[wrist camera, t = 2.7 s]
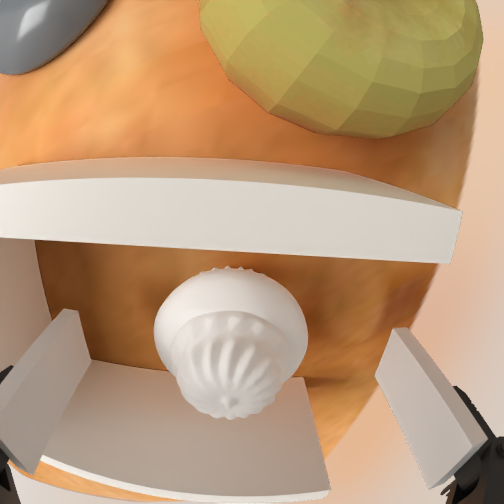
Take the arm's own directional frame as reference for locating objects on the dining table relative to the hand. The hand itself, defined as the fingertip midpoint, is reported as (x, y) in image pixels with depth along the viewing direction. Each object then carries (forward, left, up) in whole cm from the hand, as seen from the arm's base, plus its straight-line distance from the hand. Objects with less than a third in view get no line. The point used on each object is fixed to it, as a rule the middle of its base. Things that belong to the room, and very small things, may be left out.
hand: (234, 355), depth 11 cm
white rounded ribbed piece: (0, 0, -4) cm, 4 cm away
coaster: (-17, -12, -4) cm, 22 cm away
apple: (-13, +3, -4) cm, 14 cm away
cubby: (0, -4, -4) cm, 6 cm away
